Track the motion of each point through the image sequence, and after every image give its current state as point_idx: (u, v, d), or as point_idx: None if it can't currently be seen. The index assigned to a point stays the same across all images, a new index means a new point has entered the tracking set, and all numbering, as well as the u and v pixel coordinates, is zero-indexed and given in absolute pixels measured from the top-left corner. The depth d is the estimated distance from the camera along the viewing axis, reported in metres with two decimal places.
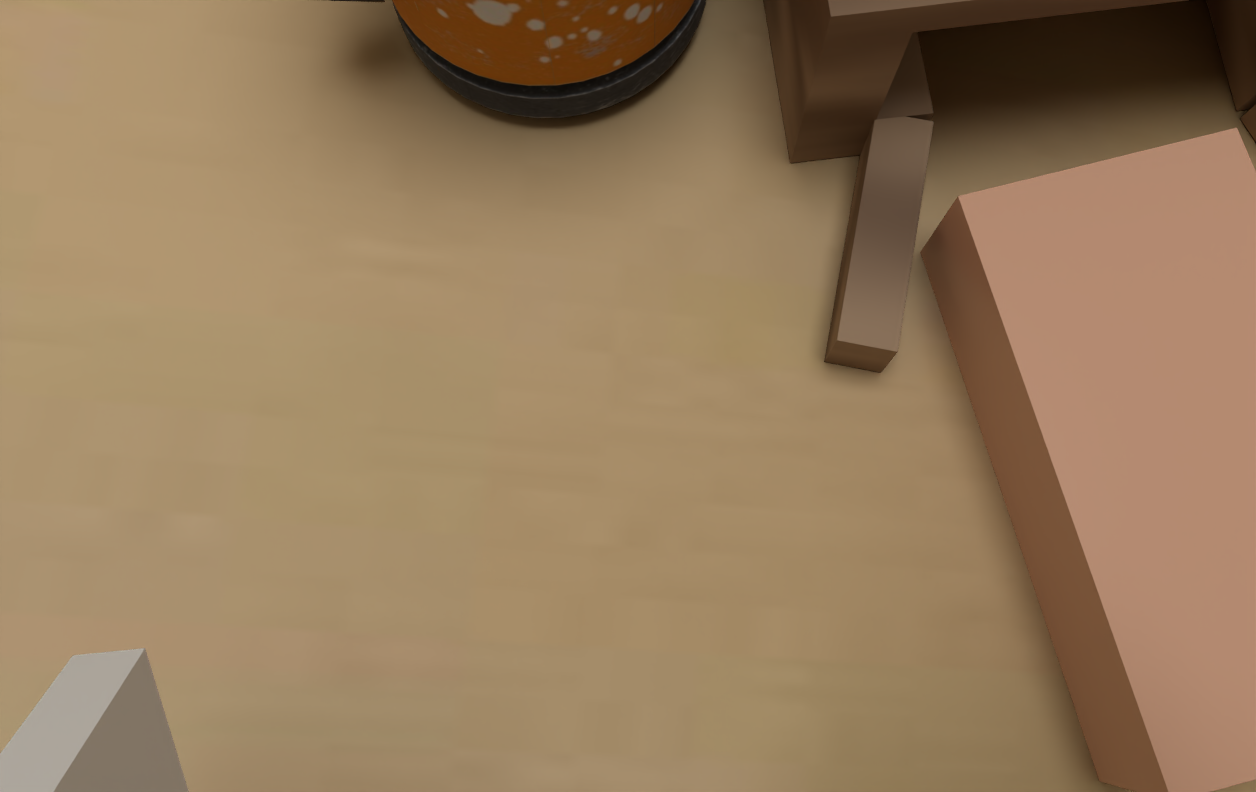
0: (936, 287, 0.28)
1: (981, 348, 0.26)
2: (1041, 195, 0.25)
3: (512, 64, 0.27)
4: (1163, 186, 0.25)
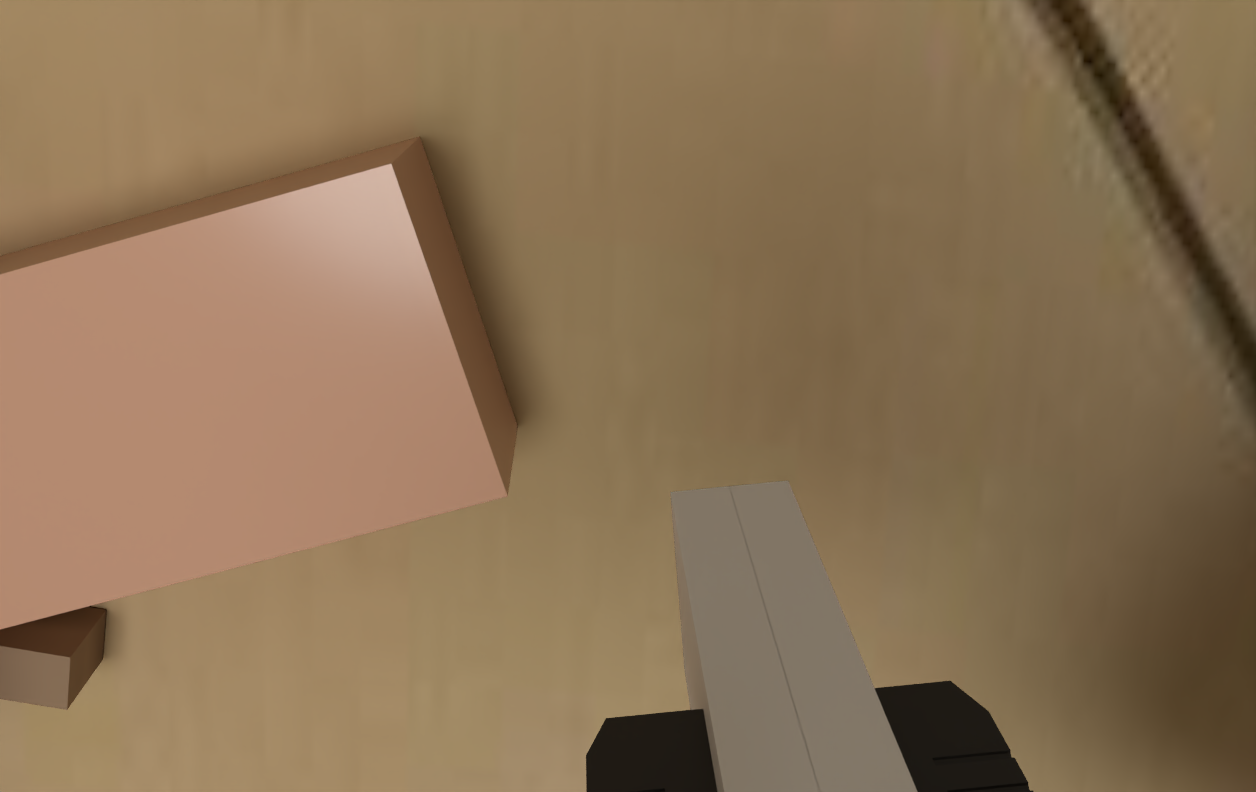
0: None
1: None
2: None
3: None
4: None
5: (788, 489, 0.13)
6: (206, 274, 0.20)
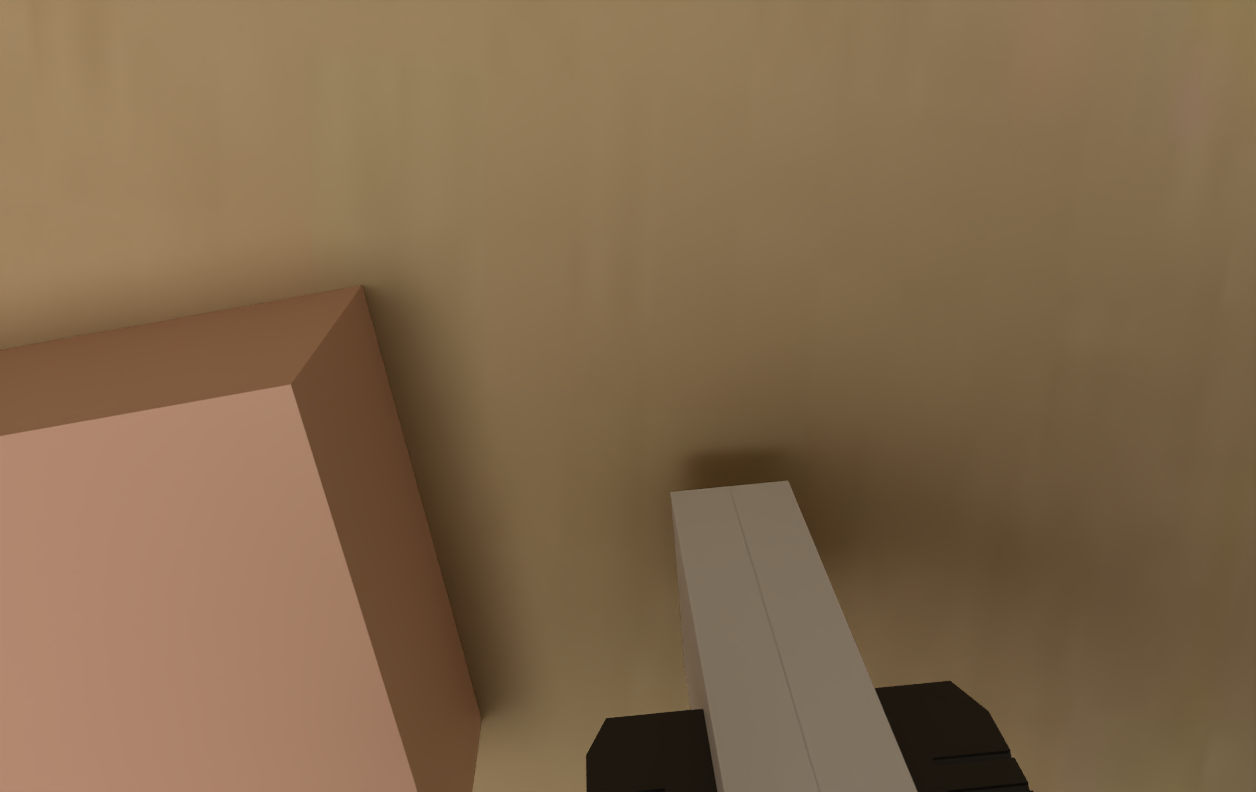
0: None
1: None
2: None
3: None
4: None
5: (788, 489, 0.13)
6: None
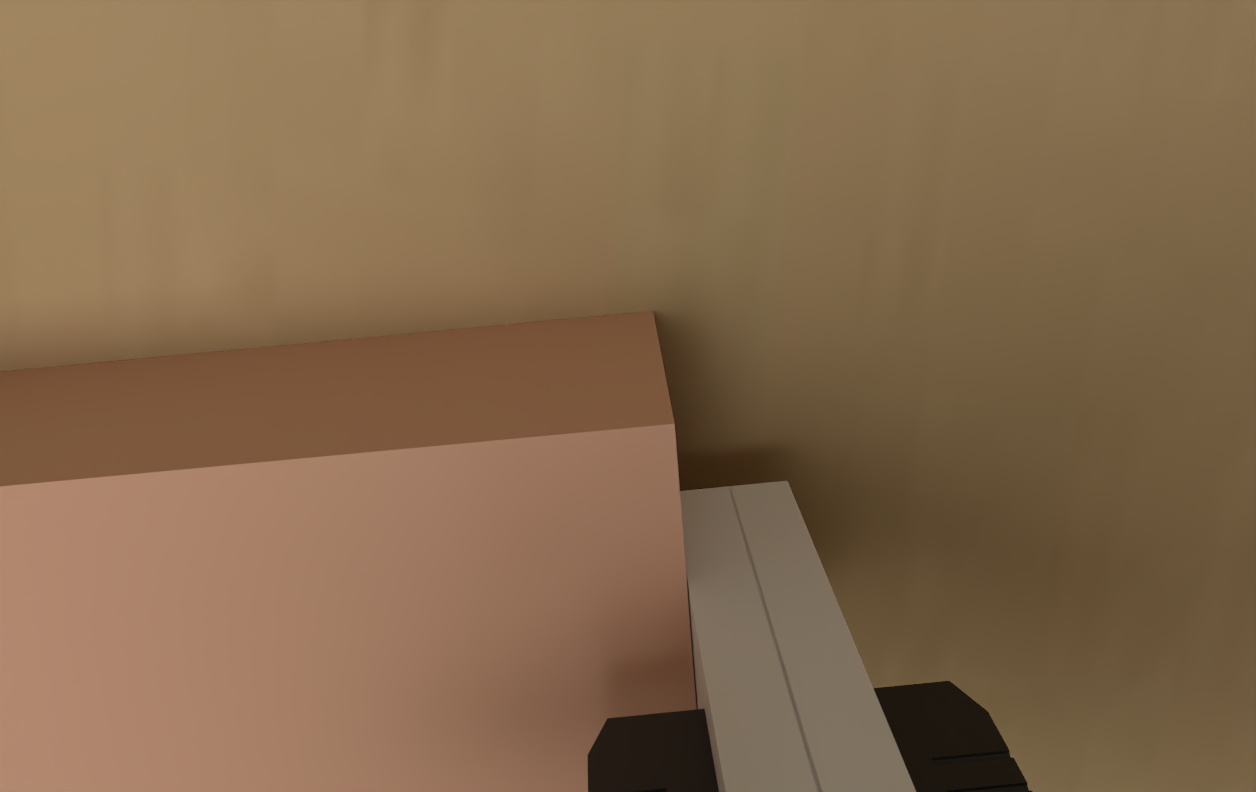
0: None
1: None
2: None
3: None
4: None
5: (787, 489, 0.13)
6: (295, 549, 0.11)
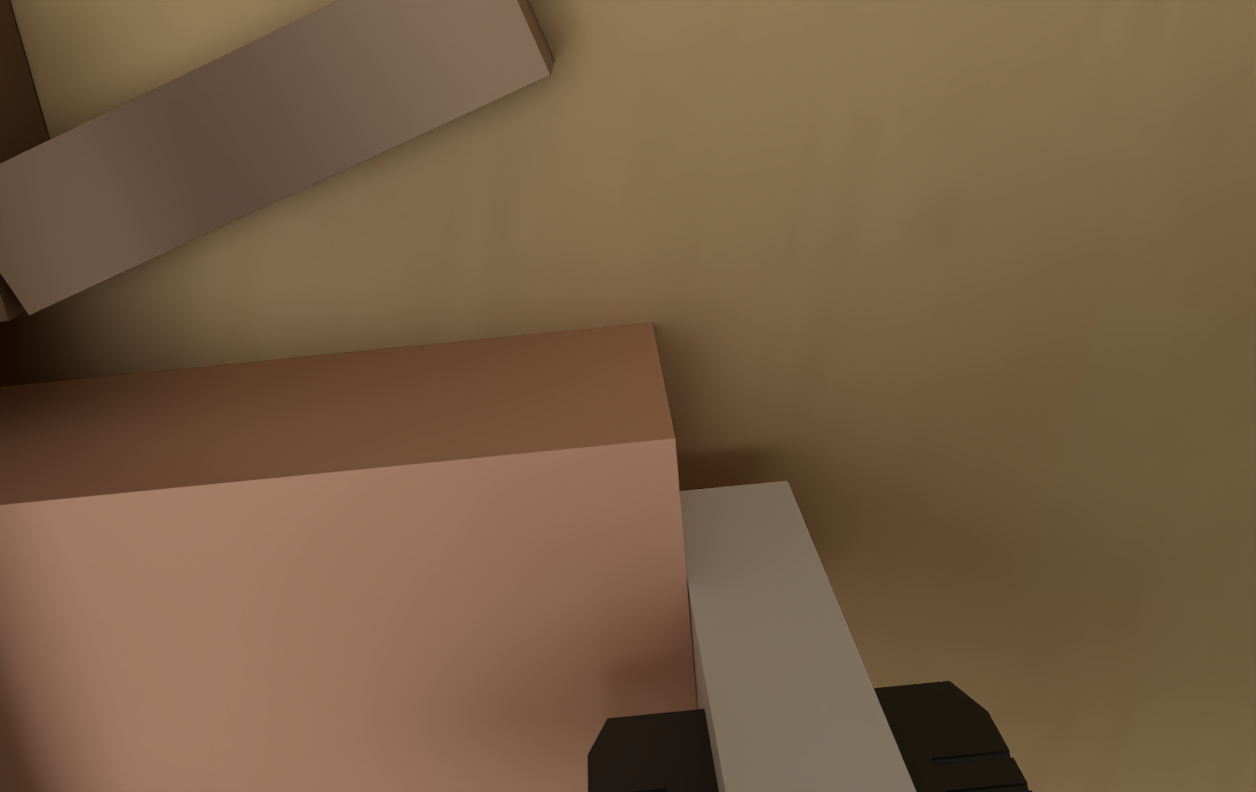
0: None
1: None
2: None
3: None
4: None
5: (787, 489, 0.13)
6: (296, 565, 0.11)
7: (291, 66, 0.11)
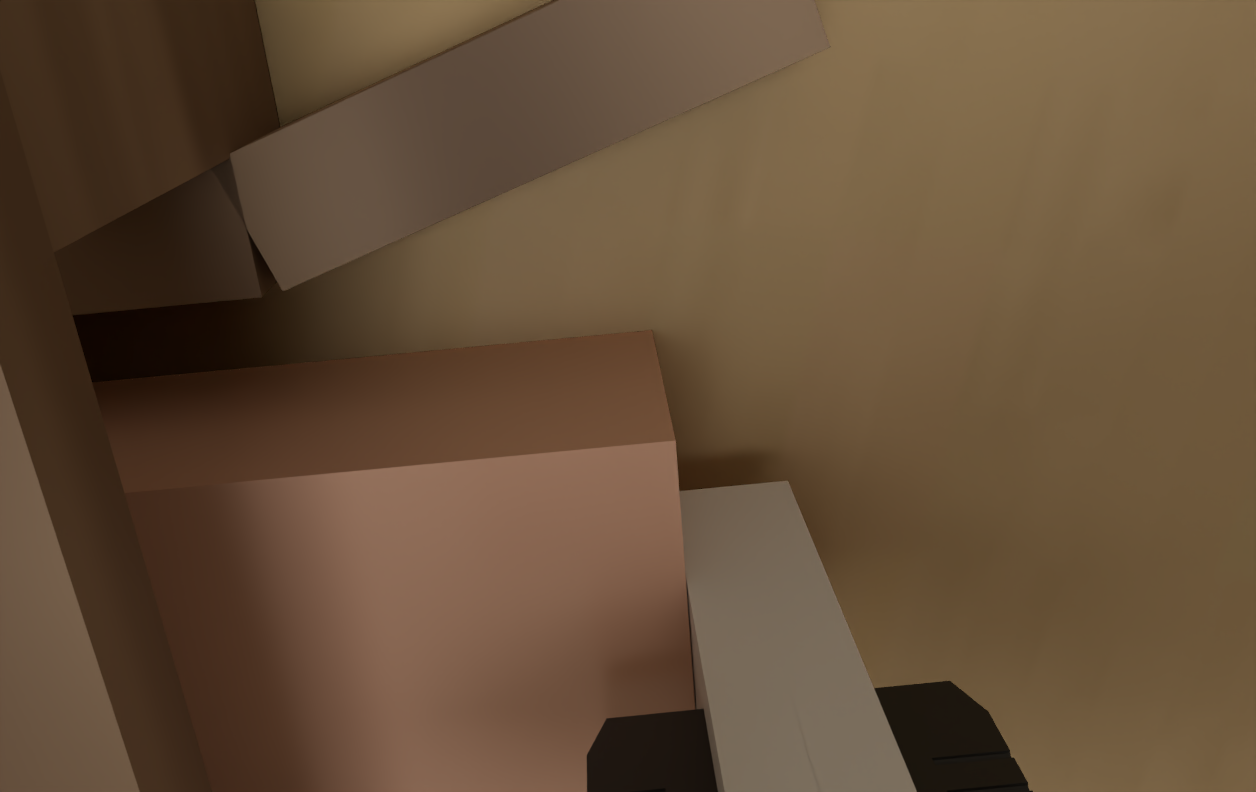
0: None
1: None
2: None
3: None
4: None
5: (787, 489, 0.13)
6: (298, 564, 0.11)
7: (571, 37, 0.11)
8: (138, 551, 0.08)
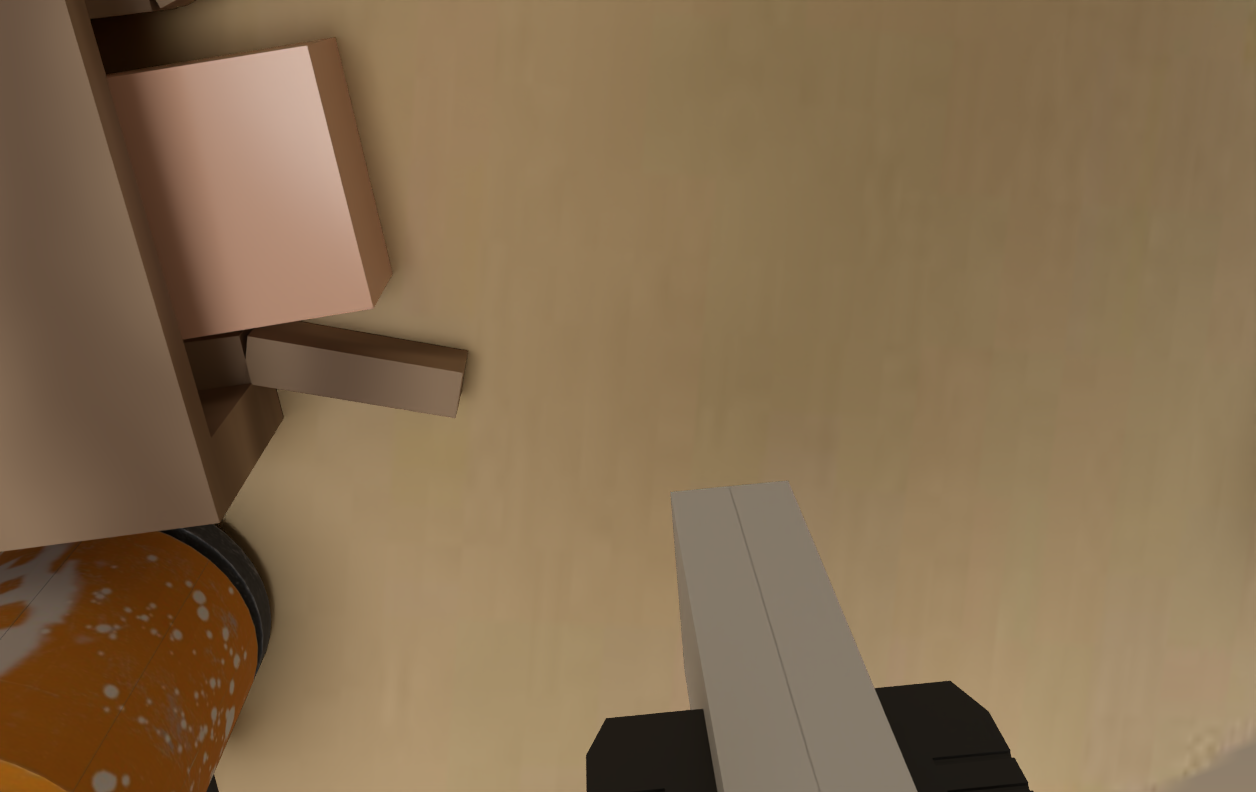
0: None
1: None
2: None
3: (249, 672, 0.34)
4: None
5: (788, 489, 0.13)
6: (162, 111, 0.27)
7: None
8: (99, 55, 0.24)
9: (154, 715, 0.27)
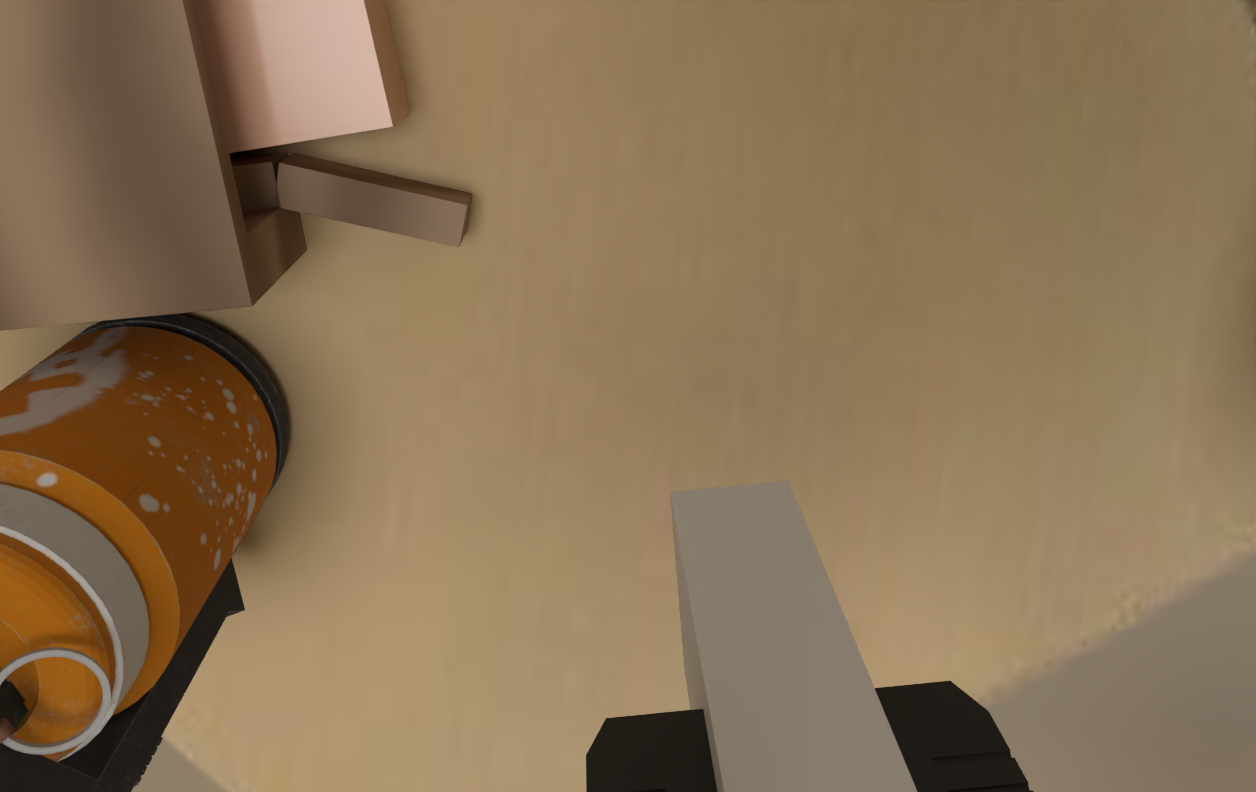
0: None
1: None
2: None
3: (269, 472, 0.38)
4: None
5: (788, 489, 0.13)
6: None
7: None
8: None
9: (189, 469, 0.32)
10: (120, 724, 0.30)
